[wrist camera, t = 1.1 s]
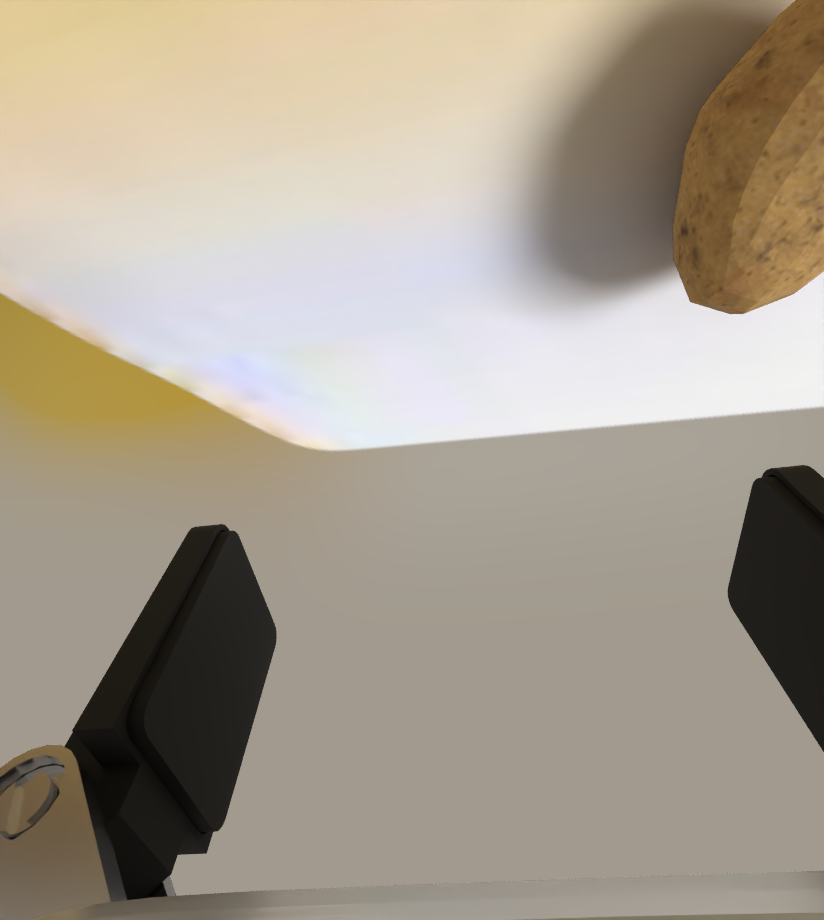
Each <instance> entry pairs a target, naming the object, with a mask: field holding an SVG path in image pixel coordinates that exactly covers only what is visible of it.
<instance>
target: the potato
mask: <svg viewBox="0 0 824 920" xmlns="http://www.w3.org/2000/svg"><path fill="white" fill-rule="evenodd" d="M673 259H674V262H675V265H676V267H677V270H678V272H679V275H680V277H681V280H682V282H683V285H684V287H685V290H686V292H687V295H688V297H689V300H690V302H692V303H695V304H699V305H702V306H705V307H709V308H712V309H715V310H719V311H722V312H725V313H729V314H744V313H747V312H749V311H752V310H754V309H757V308H759V307H762V306H764V305H767V304H769V303H772V302H774V301H777V300H780V299H782V298H785V297H787V296H790V295H792V294H794V293H796V292H797V291H798V290H800V289H801V288H802V287H803V286H805V285H806V284H807V283H809V282H810V281H811V280H813V279H814V278H815V277H817V276H818V275H819V274H821V273H822V272H823V271H824V0H796V1H795V2H794V3H792V4H791V5H790V6H789V7H788V8H787V9H786V10H785V11H783V12H782V13H781V14H780V15H779V17H778V18H777V19H776V20H775V21H774V22H773V23H772V24H771V25H770V27H769V28H768V29H767V30H766V31H765V32H764V33H763V34H762V36H761V37H760V38H759V39H758V40H757V41H756V42H755V44H754V45H753V46H752V47H751V48H750V49H749V50H748V52H747V53H746V54H745V55H744V56H743V57H742V58H741V59H740V61H739V62H738V63H737V64H736V65H735V66H734V67H733V69H732V70H731V71H730V72H729V73H728V74H727V76H726V77H725V78H724V79H723V81H722V82H721V83H720V84H719V85H718V86H717V88H716V89H715V90H714V91H713V92H712V94H711V95H710V97H709V98H708V100H707V101H706V102H705V104H704V105H703V107H702V108H701V109H700V111H699V114H698V116H697V119H696V122H695V124H694V127H693V130H692V132H691V135H690V137H689V140H688V143H687V145H686V148H685V152H684V159H683V166H682V173H681V180H680V187H679V193H678V199H677V205H676V210H675V216H674V222H673Z"/></svg>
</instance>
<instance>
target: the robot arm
mask: <svg viewBox="0 0 824 920" xmlns="http://www.w3.org/2000/svg"><path fill="white" fill-rule="evenodd" d="M728 598H729V602H730V605H731V607H732V609H733V611H734V612H735V614H736V615H737V617H738V618H739V620H740V622H741V623H742V625H743V626H744V628H745V629H746V631H747V633H748V634H749V636H750V637H751V639H752V640H753V642H754V644H755V645H756V647H757V648H758V650H759V651H760V653H761V655H762V656H763V658H764V659H765V661H766V662H767V664H768V666H769V667H770V668H771V670H772V672H773V673H774V675H775V676H776V678H777V679H778V681H779V682H780V684H781V686H782V687H783V689H784V691H785V692H786V694H787V695H788V697H789V698H790V700H791V701H792V703H793V704H794V706H795V708H796V709H797V711H798V712H799V714H800V716H801V717H802V719H803V720H804V722H805V723H806V725H807V727H808V728H809V730H810V731H811V732H812V734H813V736H814V737H815V739H816V741H817V742H818V744H819V745H820V747H821V748H822V750H823V752H824V478H823V477H822V476H821V475H820V474H818V473H817V472H816V471H815V470H814V469H812V468H811V467H809V466H805V465H800V466H791V467H781V468H771V469H769V470H766V471H765V472H764V473H763V476H762V478H758V479H756V480H755V481H754V483H753V485H752V489H751V493H750V497H749V502H748V506H747V510H746V514H745V518H744V523H743V527H742V531H741V535H740V539H739V544H738V548H737V553H736V556H735V561H734V565H733V569H732V573H731V577H730V582H729V586H728ZM275 645H276V627H275V624H274V622H273V619H272V617H271V614H270V612H269V609H268V607H267V604H266V602H265V599H264V597H263V595H262V592H261V590H260V587H259V585H258V582H257V580H256V577H255V575H254V573H253V570H252V567H251V565H250V562H249V560H248V558H247V555H246V553H245V550H244V548H243V545H242V543H241V540H240V538H239V536H238V534H237V533H236V532H235V531H229V529H228V528H227V527H226V526H225V525H223V524H220V525H210V526H199V527H194V528H191V530H190V531H189V532H188V534H187V535H186V537H185V539H184V541H183V542H182V544H181V546H180V547H179V549H178V551H177V552H176V554H175V556H174V558H173V559H172V561H171V563H170V564H169V566H168V568H167V569H166V571H165V573H164V575H163V576H162V578H161V580H160V581H159V583H158V585H157V587H156V588H155V590H154V592H153V593H152V595H151V597H150V598H149V600H148V602H147V604H146V605H145V607H144V609H143V611H142V612H141V614H140V616H139V617H138V619H137V621H136V622H135V624H134V626H133V628H132V629H131V631H130V633H129V634H128V636H127V638H126V639H125V641H124V643H123V645H122V646H121V648H120V650H119V652H118V653H117V655H116V657H115V658H114V660H113V662H112V664H111V665H110V667H109V669H108V670H107V672H106V674H105V675H104V677H103V679H102V680H101V682H100V684H99V686H98V687H97V689H96V691H95V692H94V694H93V696H92V698H91V699H90V701H89V703H88V704H87V706H86V708H85V710H84V711H83V713H82V715H81V716H80V718H79V720H78V722H77V723H76V725H75V727H74V728H73V730H72V731H73V733H72V735H71V736H70V738H69V740H68V742H67V743H66V745H65V747H63V746H61V745H46V746H42V747H38V748H35V749H31V750H29V751H27V752H25V753H23V754H21V755H19V756H17V757H15V758H13V759H12V760H11V761H9V762H8V763H7V764H5V765H4V766H2V767H1V768H0V920H824V871H801V872H770V873H769V872H768V873H736V874H735V873H734V874H703V875H668V876H640V877H613V878H612V877H611V878H583V879H553V880H526V881H498V882H471V883H443V884H419V885H418V884H417V885H394V886H370V887H369V886H368V887H344V888H320V889H295V890H270V891H251V892H234V893H220V894H219V893H218V894H201V895H185V896H176V893H175V890H174V887H173V884H172V881H171V878H170V875H171V873H172V870H173V867H174V864H175V861H176V858H177V855H181V854H203V853H207V850H208V847H209V843H210V840H211V837H212V833H213V832H214V831H218V830H219V829H220V828H221V827H222V825H223V823H224V821H225V818H226V815H227V812H228V808H229V805H230V801H231V798H232V794H233V791H234V787H235V784H236V780H237V776H238V774H239V770H240V767H241V763H242V760H243V756H244V753H245V749H246V746H247V742H248V739H249V735H250V732H251V728H252V725H253V722H254V718H255V714H256V711H257V708H258V704H259V701H260V697H261V694H262V690H263V687H264V683H265V680H266V677H267V673H268V670H269V666H270V663H271V659H272V656H273V652H274V649H275Z"/></svg>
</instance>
